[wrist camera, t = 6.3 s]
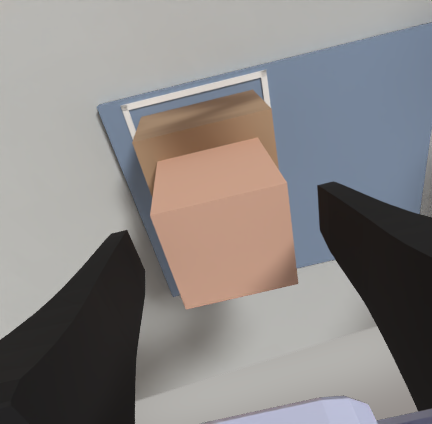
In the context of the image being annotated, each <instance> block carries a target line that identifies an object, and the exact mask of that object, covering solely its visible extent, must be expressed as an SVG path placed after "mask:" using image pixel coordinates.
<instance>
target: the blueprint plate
mask: <svg viewBox="0 0 432 424" xmlns="http://www.w3.org/2000/svg"><path fill="white" fill-rule="evenodd" d="M249 90H254V91H255V92H256V93H257V94H258V95H259V96H260V97H261V98H262V99H263V100H264V101H265V102H266V103H267V104H268V106H269V107H270V108H271V109H272V117H273V125H274V133H275V141H276V150H277V158H278V166H279V171H280V173H281V174H282V176H283V177H284V179H285V180H286V182H287V186H288V195H289V204H290V213H291V222H292V231H293V240H294V250H295V259H296V268H300V267H305V266H309V265H313V264H318V263H322V262H326V261H330V260H335V258H334V257H333V255H332V254H331V252H330V250H329V248H328V246H327V244H326V242H325V240H324V238H323V236H322V234H321V232H320V227H319V209H318V191H317V185H320V184H324V183H329V182H333V181H334V182H337V183H340V184H342V185H345V186H347V187H349V188H352V189H354V190H356V191H359V192H361V193H363V194H366V195H368V196H370V197H373V198H375V199H378V200H380V201H383V202H385V203H388V204H390V205H393V206H396V207H399V208H402V209H405V210H408V211H411V212H414V213H417V214H420V207H421V200H422V193H423V186H424V179H425V172H426V164H427V157H428V150H429V143H430V136H431V128H432V22H431V23H427V24H423V25H419V26H415V27H411V28H407V29H403V30H399V31H395V32H391V33H386V34H382V35H378V36H374V37H370V38H366V39H362V40H358V41H354V42H350V43H346V44H342V45H338V46H334V47H330V48H326V49H322V50H318V51H314V52H310V53H306V54H302V55H298V56H294V57H290V58H286V59H282V60H277V61H273V62H269V63H265V64H261V65H257V66H253V67H249V68H245V69H241V70H237V71H233V72H229V73H225V74H221V75H217V76H213V77H209V78H205V79H201V80H197V81H193V82H189V83H185V84H181V85H177V86H172V87H168V88H164V89H160V90H156V91H152V92H148V93H144V94H140V95H136V96H132V97H128V98H124V99H120V100H116V101H112V102H108V103H104V104H100V105H98V106H97V109H98V112H99V114H100V117H101V119H102V122H103V124H104V127H105V129H106V132H107V134H108V137H109V139H110V142H111V144H112V147H113V149H114V151H115V154H116V156H117V159H118V161H119V164H120V166H121V169H122V171H123V174H124V176H125V179H126V181H127V184H128V186H129V189H130V191H131V194H132V196H133V199H134V201H135V204H136V206H137V209H138V211H139V214H140V216H141V219H142V221H143V224H144V226H145V229H146V231H147V234H148V236H149V239H150V241H151V244H152V246H153V249H154V251H155V253H156V256H157V258H158V261H159V263H160V266H161V268H162V271H163V273H164V276H165V278H166V281H167V283H168V286H169V288H170V291H171V293H172V296H173V297H175V296H179V295H180V293H179V290H178V287H177V285H176V282H175V279H174V277H173V274H172V272H171V269H170V266H169V264H168V261H167V259H166V256H165V253H164V251H163V248H162V245H161V243H160V240H159V238H158V235H157V232H156V230H155V227H154V225H153V222H152V219H151V217H150V212H151V205H152V195H151V193H150V190H149V187H148V185H147V182H146V179H145V176H144V174H143V171H142V168H141V165H140V163H139V160H138V157H137V154H136V152H135V149H134V146H133V144H132V142H133V139H134V136H135V133H136V130H137V127H138V124H139V121H140V119H141V117H143V116H147V115H151V114H155V113H159V112H163V111H167V110H171V109H175V108H180V107H184V106H188V105H192V104H196V103H200V102H204V101H208V100H212V99H216V98H220V97H224V96H228V95H232V94H236V93H241V92H245V91H249Z"/></svg>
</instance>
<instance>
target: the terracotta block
mask: <svg viewBox="0 0 432 424" xmlns="http://www.w3.org/2000/svg"><path fill="white" fill-rule="evenodd" d="M150 217H151V219H152V222H153V225H154V227H155V230H156V232H157V235H158V238H159V240H160V243H161V245H162V248H163V251H164V253H165V256H166V259H167V261H168V264H169V266H170V269H171V272H172V274H173V277H174V279H175V282H176V285H177V287H178V290H179V293H180V295H181V298H182V300H183V303H184V306H185V308H186V309H191V308H195V307H199V306H204V305H208V304H212V303H217V302H221V301H225V300H230V299H234V298H238V297H243V296H247V295H252V294H256V293H260V292H265V291H269V290H273V289H278V288H282V287H286V286H291V285H295V284H298V277H297V268H296V259H295V250H294V240H293V231H292V222H291V213H290V204H289V195H288V186H287V182H286V180H285V179H284V177H283V176H282V174H281V173H280V171H279V169H278V168H277V166H276V165H275V163H274V162H273V160H272V159H271V157H270V156H269V154H268V152H267V151H266V149H265V148H264V146H263V145H262V143H261V142H260V140H259V138H258V137H257V138H253V139H249V140H245V141H240V142H236V143H232V144H228V145H224V146H220V147H216V148H211V149H207V150H203V151H199V152H195V153H191V154H187V155H183V156H178V157H174V158H170V159H166V160H162V161H158V162H157V168H156V175H155V182H154V190H153V197H152V205H151V212H150Z"/></svg>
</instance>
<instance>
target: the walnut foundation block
mask: <svg viewBox="0 0 432 424" xmlns="http://www.w3.org/2000/svg"><path fill="white" fill-rule="evenodd" d="M257 137H258V138H259V140H260V142H261V143H262V145H263V146H264V148H265V149H266V151H267V152H268V154H269V156H270V157H271V159H272V160H273V162H274V163H275V165H276V166H277V168H278V169H279V166H278V158H277V150H276V141H275V133H274V125H273V117H272V109H271V108H270V107H269V106H268V104H267V103H266V102H265V101H264V100H263V99H262V98H261V97H260V96H259V95H258V94H257V93H256V92H255V91H254V90H249V91H245V92H241V93H236V94H232V95H228V96H224V97H220V98H216V99H212V100H208V101H204V102H200V103H196V104H192V105H188V106H184V107H180V108H175V109H171V110H167V111H163V112H159V113H155V114H151V115H147V116H143V117H141V119H140V121H139V124H138V127H137V130H136V133H135V136H134V139H133V142H132V144H133V146H134V149H135V152H136V154H137V157H138V160H139V163H140V165H141V168H142V171H143V174H144V176H145V179H146V182H147V185H148V187H149V190H150V193H151V195H152V197H153V190H154V182H155V175H156V168H157V162H158V161H162V160H166V159H170V158H174V157H178V156H183V155H187V154H191V153H195V152H199V151H203V150H207V149H211V148H216V147H220V146H224V145H228V144H232V143H236V142H240V141H245V140H249V139H253V138H257Z"/></svg>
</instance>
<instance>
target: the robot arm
mask: <svg viewBox="0 0 432 424" xmlns="http://www.w3.org/2000/svg"><path fill="white" fill-rule="evenodd" d="M317 191H318V209H319V227H320V232H321V234H322V236H323V238H324V240H325V242H326V244H327V246H328V248H329V250H330V252H331V254H332V255H333V257H334V258H335V260H336V261H337V263H338V264H339V266H340V267H341V269H342V270H343V272H344V273H345V274H346V276H347V277H348V279H349V280H350V282H351V283H352V285H353V286H354V288H355V289H356V291H357V292H358V293H359V295H360V296H361V298H362V300H363V301H364V303H365V304H366V306H367V308H368V310H369V311H370V313H371V315H372V317H373V319H374V321H375V323H376V325H377V326H378V328H379V330H380V332H381V334H382V336H383V338H384V340H385V342H386V344H387V346H388V348H389V350H390V352H391V354H392V356H393V358H394V360H395V362H396V364H397V366H398V368H399V370H400V373H401V375H402V377H403V379H404V381H405V383H406V385H407V387H408V389H409V392H410V394H411V396H412V398H413V400H414V403H415V405H416V407H417V409H418V412H414V413H409V414H405V415H400V416H396V417H391V418H386V419H381V420H376V419H375V417H374V415H373V413H372V411H371V409H370V407H369V405H368V404H366V403H364V402H361V401H358V400H356V399H352V398H349V397H346V396H333V397H320V398H315V399H310V400H306V401H301V402H297V403H292V404H288V405H283V406H278V407H273V408H269V409H264V410H260V411H255V412H250V413H246V414H241V415H237V416H232V417H228V418H224V419H218V420H214V421H209V422H205V423H201V424H432V217H428V216H424V215H421V214H417V213H414V212H411V211H408V210H405V209H402V208H399V207H396V206H393V205H390V204H388V203H385V202H383V201H380V200H378V199H375V198H373V197H370V196H368V195H366V194H363V193H361V192H359V191H356V190H354V189H352V188H349V187H347V186H345V185H342V184H340V183H337V182H334V181H333V182H329V183H324V184H320V185H317ZM144 298H145V269H144V267H143V265H142V263H141V260H140V258H139V256H138V254H137V251H136V249H135V247H134V244H133V242H132V240H131V238H130V235H129V233H128V231H127V230H125V231H121V232H117V233H112V234H111V235H110V236H109V237H108V238H107V239H106V240H105V241H104V242H103V243H102V244H101V246H100V247H99V248H98V249H97V250H96V251H95V253H94V254H93V255H92V256H91V257H90V258H89V260H88V261H87V262H86V263H85V264H84V265H83V267H82V268H81V269H80V270H79V271H78V272H77V273H76V274H75V275H74V276H73V277H72V278H71V279H70V281H69V282H68V283H67V284H66V285H65V286H64V287H63V288H62V289H61V290H60V291H59V292H58V293H57V294H56V295H55V296H54V297H53V298H52V299H51V300H49V301H48V302H47V303H46V304H45V305H44V306H43V307H42V308H40V309H39V310H38V311H37V312H36V313H35V314H33V315H32V316H31V317H30V318H28V319H27V320H26V321H25V322H23V323H22V324H21V325H19V326H18V327H17V328H16V329H14V330H13V331H12V332H11V333H9V334H8V335H6V336H5V337H4V338H2V339H1V340H0V424H135V376H136V356H137V346H138V340H139V333H140V326H141V319H142V312H143V305H144Z"/></svg>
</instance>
